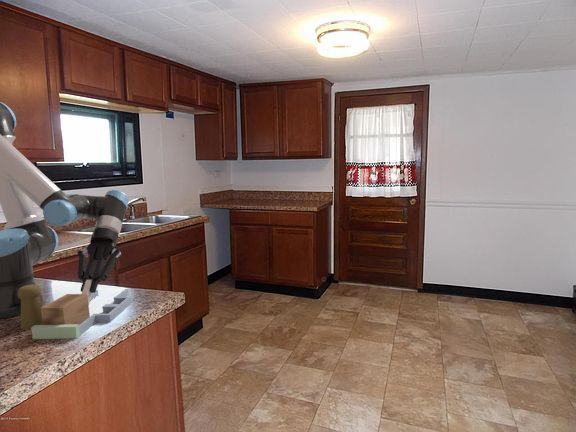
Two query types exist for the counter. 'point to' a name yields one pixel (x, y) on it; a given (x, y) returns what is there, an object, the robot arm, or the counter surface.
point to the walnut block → (66, 310)
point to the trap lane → (75, 329)
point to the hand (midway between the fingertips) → (84, 302)
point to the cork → (30, 306)
